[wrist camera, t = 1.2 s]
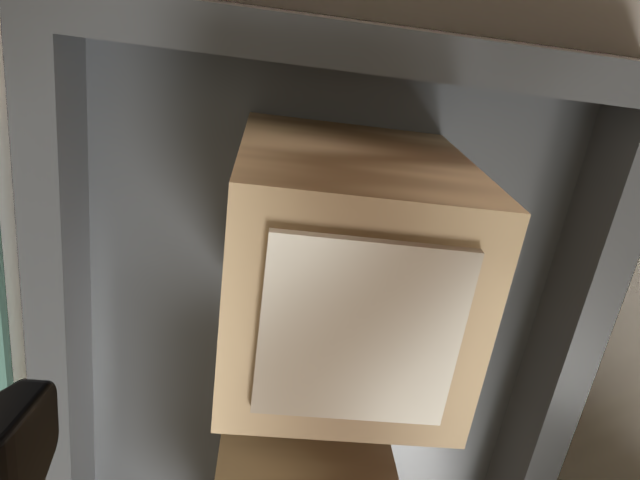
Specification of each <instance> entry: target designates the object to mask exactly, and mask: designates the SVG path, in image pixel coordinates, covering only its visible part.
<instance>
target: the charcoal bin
mask: <svg viewBox="0 0 640 480" xmlns="http://www.w3.org/2000/svg"><path fill="white" fill-rule="evenodd" d="M0 19H1V32H2V46H3V60H4V73H5V87H6V100H7V114H8V128H9V141H10V155H11V169H12V182H13V196H14V210H15V223H16V237H17V250H18V264H19V278H20V291H21V305H22V319H23V332H24V346H25V360H26V373H27V379H37V380H50V381H52V382H53V383H54V384H55V386H56V388H57V399H58V419H59V438H58V443H57V447H56V451H55V454H54V456H53V459H52V462H51V465H50V468H49V471H48V474H47V476H46V479H45V480H214V479H215V472H216V465H217V458H218V452H219V445H220V438H221V434H216V433H211V422H212V409H213V395H214V381H215V368H216V354H217V340H218V327H219V313H220V299H221V286H222V272H223V259H224V245H225V231H226V218H227V204H228V190H229V181H230V177H231V174H232V171H233V167H234V164H235V161H236V157H237V154H238V150H239V147H240V144H241V140H242V137H243V134H244V130H245V127H246V123H247V120H248V117H249V113H250V112H253V113H262V114H270V115H279V116H287V117H295V118H304V119H312V120H321V121H329V122H337V123H346V124H354V125H362V126H371V127H379V128H388V129H396V130H404V131H413V132H421V133H430V134H438V135H442V136H443V137H445V138H446V139H447V140H448V141H449V142H450V143H451V144H452V145H454V146H455V147H456V148H457V149H458V150H459V151H460V152H461V153H463V154H464V155H465V156H466V157H467V158H468V159H469V160H470V161H472V162H473V163H474V164H475V165H476V166H477V167H478V168H479V169H481V170H482V171H483V172H484V173H485V174H486V175H487V176H488V177H490V178H491V179H492V180H493V181H494V182H495V183H496V184H497V185H499V186H500V187H501V188H502V189H503V190H504V191H505V192H506V193H508V194H509V195H510V196H511V197H512V198H513V199H514V200H515V201H517V202H518V203H519V204H520V205H521V206H522V207H523V208H524V209H526V210H527V211H528V212H529V213H530V214H531V217H530V220H529V224H528V227H527V231H526V234H525V238H524V241H523V245H522V248H521V252H520V255H519V259H518V262H517V266H516V269H515V273H514V276H513V280H512V284H511V287H510V291H509V294H508V298H507V301H506V305H505V308H504V312H503V315H502V319H501V322H500V326H499V329H498V333H497V336H496V340H495V343H494V347H493V350H492V354H491V357H490V361H489V365H488V368H487V372H486V375H485V379H484V382H483V386H482V389H481V393H480V396H479V400H478V403H477V407H476V410H475V414H474V417H473V421H472V424H471V428H470V431H469V435H468V438H467V442H466V446H465V449H453V448H437V447H421V446H406V445H391V447H392V452H393V456H394V460H395V464H396V468H397V473H398V477H399V480H557V479H558V476H559V473H560V471H561V468H562V465H563V463H564V460H565V457H566V454H567V452H568V449H569V446H570V444H571V441H572V438H573V435H574V433H575V430H576V427H577V425H578V422H579V419H580V417H581V414H582V411H583V408H584V406H585V403H586V400H587V398H588V395H589V392H590V390H591V387H592V384H593V381H594V379H595V376H596V373H597V371H598V368H599V365H600V363H601V360H602V357H603V354H604V352H605V349H606V346H607V344H608V341H609V338H610V335H611V333H612V330H613V327H614V325H615V322H616V319H617V317H618V314H619V311H620V308H621V306H622V303H623V300H624V298H625V295H626V292H627V290H628V287H629V284H630V281H631V279H632V276H633V273H634V271H635V268H636V265H637V262H638V260H639V257H640V58H633V57H625V56H618V55H611V54H604V53H596V52H589V51H582V50H575V49H567V48H560V47H553V46H546V45H538V44H531V43H524V42H517V41H509V40H502V39H495V38H488V37H480V36H473V35H466V34H459V33H451V32H444V31H437V30H430V29H422V28H415V27H408V26H401V25H393V24H386V23H379V22H372V21H364V20H357V19H350V18H343V17H335V16H328V15H321V14H314V13H306V12H299V11H292V10H285V9H277V8H270V7H263V6H256V5H248V4H241V3H234V2H227V1H219V0H0Z"/></svg>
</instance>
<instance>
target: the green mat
mask: <svg viewBox="0 0 640 480" xmlns="http://www.w3.org/2000/svg"><path fill="white" fill-rule="evenodd" d="M11 384H13V373H12V361H11V349H10V338H9V326H8V314H7V302H6V290H5V278H4V266H3V254H2V242H1V231H0V391H1V390H3V389H5V388H6V387H8V386H10V385H11Z"/></svg>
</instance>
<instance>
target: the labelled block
mask: <svg viewBox="0 0 640 480" xmlns="http://www.w3.org/2000/svg"><path fill="white" fill-rule="evenodd" d="M530 217H531V214H530V213H529V212H528V211H527V210H526V209H524V208H523V207H522V206H521V205H520V204H519V203H518V202H517V201H515V200H514V199H513V198H512V197H511V196H510V195H509V194H508V193H506V192H505V191H504V190H503V189H502V188H501V187H500V186H499V185H497V184H496V183H495V182H494V181H493V180H492V179H491V178H490V177H488V176H487V175H486V174H485V173H484V172H483V171H482V170H481V169H479V168H478V167H477V166H476V165H475V164H474V163H473V162H472V161H470V160H469V159H468V158H467V157H466V156H465V155H464V154H463V153H461V152H460V151H459V150H458V149H457V148H456V147H455V146H454V145H452V144H451V143H450V142H449V141H448V140H447V139H446V138H445V137H443V136H442V135H438V134H430V133H421V132H413V131H404V130H396V129H388V128H379V127H371V126H362V125H354V124H346V123H337V122H329V121H321V120H312V119H304V118H295V117H287V116H279V115H270V114H262V113H253V112H250V113H249V117H248V120H247V123H246V127H245V130H244V134H243V137H242V140H241V144H240V147H239V150H238V154H237V157H236V161H235V164H234V167H233V171H232V174H231V177H230V181H229V190H228V204H227V218H226V231H225V245H224V259H223V272H222V286H221V299H220V313H219V327H218V340H217V354H216V368H215V381H214V395H213V409H212V422H211V433H216V434H232V435H248V436H264V437H279V438H295V439H311V440H327V441H342V442H358V443H374V444H390V445H406V446H421V447H437V448H453V449H465V446H466V442H467V438H468V435H469V431H470V428H471V424H472V421H473V417H474V414H475V410H476V407H477V403H478V400H479V396H480V393H481V389H482V386H483V382H484V379H485V375H486V372H487V368H488V365H489V361H490V357H491V354H492V350H493V347H494V343H495V340H496V336H497V333H498V329H499V326H500V322H501V319H502V315H503V312H504V308H505V305H506V301H507V298H508V294H509V291H510V287H511V284H512V280H513V276H514V273H515V269H516V266H517V262H518V259H519V255H520V252H521V248H522V245H523V241H524V238H525V234H526V231H527V227H528V224H529V220H530Z"/></svg>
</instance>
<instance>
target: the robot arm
mask: <svg viewBox="0 0 640 480" xmlns="http://www.w3.org/2000/svg"><path fill="white" fill-rule="evenodd" d="M58 438H59V419H58V399H57V388H56V386H55V384H54V383H53V382H52V381H50V380H37V379H21V380H19V381H17V382H15V383H13V384H11V385H10V386H8V387H6V388H5V389H3V390H1V391H0V480H45V479H46V476H47V474H48V471H49V468H50V465H51V462H52V459H53V456H54V454H55V451H56V447H57V443H58Z"/></svg>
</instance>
